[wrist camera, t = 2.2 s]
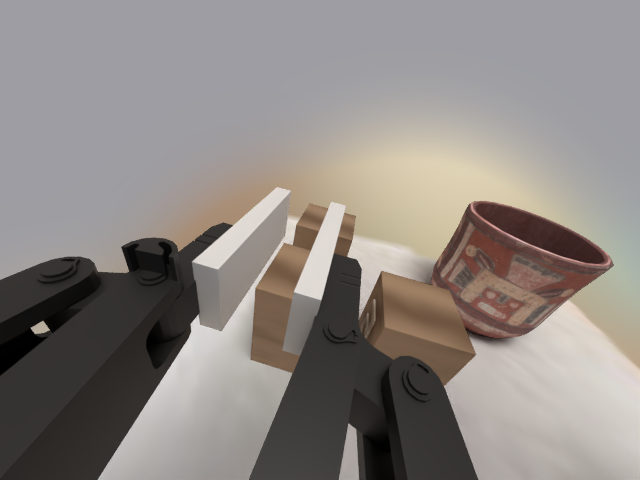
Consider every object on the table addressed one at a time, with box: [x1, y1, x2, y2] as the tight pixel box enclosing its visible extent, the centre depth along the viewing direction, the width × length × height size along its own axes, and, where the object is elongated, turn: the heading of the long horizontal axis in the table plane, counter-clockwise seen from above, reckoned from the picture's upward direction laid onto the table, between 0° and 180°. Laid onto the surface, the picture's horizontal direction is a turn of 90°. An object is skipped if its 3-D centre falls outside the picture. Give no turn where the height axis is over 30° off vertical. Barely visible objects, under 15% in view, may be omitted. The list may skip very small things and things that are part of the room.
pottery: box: [431, 201, 614, 338], centre depth 38 cm, size 18×18×18 cm
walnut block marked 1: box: [293, 204, 356, 257], centre depth 38 cm, size 8×8×12 cm
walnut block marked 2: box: [359, 271, 476, 386], centre depth 26 cm, size 8×8×12 cm
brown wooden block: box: [251, 243, 311, 373], centre depth 27 cm, size 8×8×12 cm
